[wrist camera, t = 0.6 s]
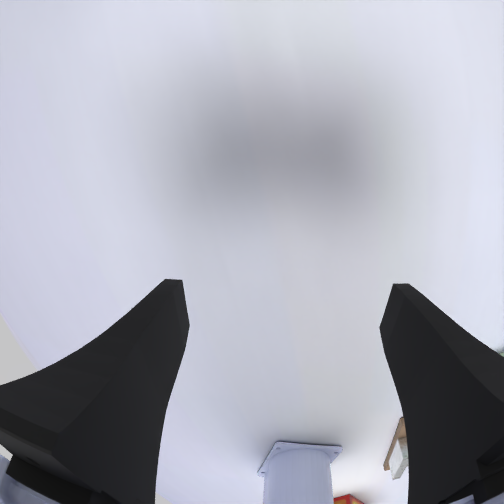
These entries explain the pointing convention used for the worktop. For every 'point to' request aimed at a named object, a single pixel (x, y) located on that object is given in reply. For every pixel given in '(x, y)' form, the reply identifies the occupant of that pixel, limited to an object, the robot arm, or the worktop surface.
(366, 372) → the worktop surface
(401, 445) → the end caps
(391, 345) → the robot arm
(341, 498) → the baking soda box
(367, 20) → the worktop surface
